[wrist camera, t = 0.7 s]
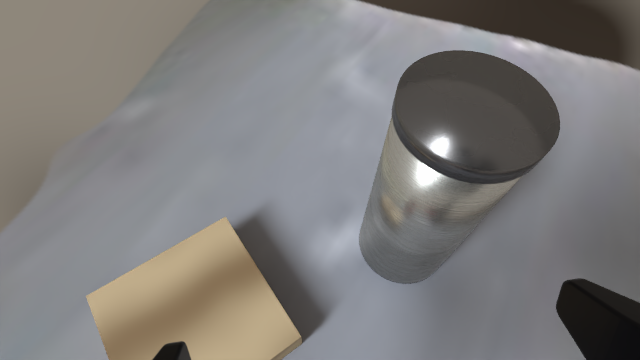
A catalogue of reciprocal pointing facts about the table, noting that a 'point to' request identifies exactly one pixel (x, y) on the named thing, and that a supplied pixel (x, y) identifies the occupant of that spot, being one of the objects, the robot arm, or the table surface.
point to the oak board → (195, 304)
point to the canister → (451, 157)
